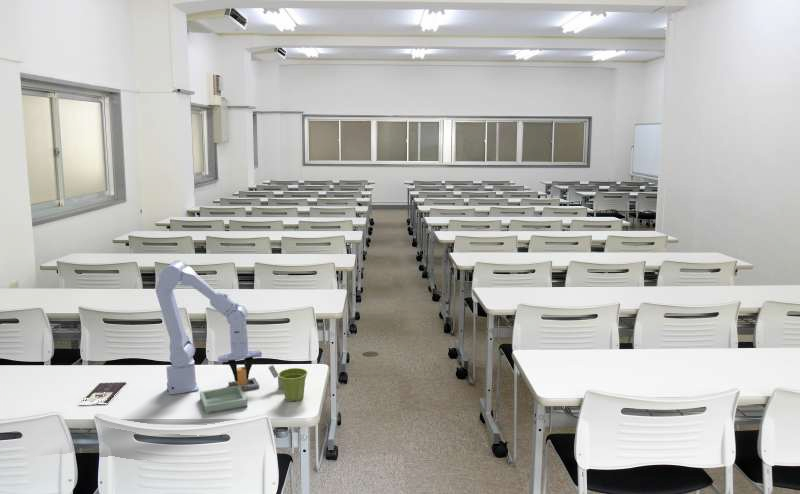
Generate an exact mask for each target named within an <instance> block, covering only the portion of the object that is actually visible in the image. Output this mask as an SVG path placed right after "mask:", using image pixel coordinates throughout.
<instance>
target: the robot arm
mask: <svg viewBox="0 0 800 494" xmlns="http://www.w3.org/2000/svg"><path fill="white" fill-rule="evenodd" d="M178 283H179V286H191V287H192V288H194V289H195V290H197V291H198V292H199V293H201V294H202V295H203V296H205V297H206V298H207V299H208V300H209V304H210V305H211V306H212V308H213V309H215V310H216V311H217V312H218V313H220V314H221V315H222V316H223V317H225V318H226V321H227V323H228V324H229V339H230V352H229V353H226V354H222V355H218V356H217V362H218V364H223V363H225V362H226V363H228V366H229V367H230V369H231V372H232V375H233V379H234V381H238V378H237V368H238V364H237V361H241V360H243V363H244V367H245V368H246V377H247V380H248V379H249V377H250V376H249V374H250V371H251V368H252V366H253V364H254V359H255V358H262V357H263V354H262V350H249V343H248V342H249V341H248V339H249V338H248V328H247V326H248V325H247V320H246V319H247V317H248V310H247V309H246V307H245V305H242V304H239V303H238V302H235V301H234V300H232V299H231V298H230V297H229V294H228V293H227V292H223V291H216V290H215V289H214V288H213V287H212V286H211V285H209V284H208V283H207V282H206V280H204V279H203V278H202V277H201V276H200V275H198V273H197V272H196V271H195V270H194V269H193V268H192V267H191V266H189V265H187V264H186V263H185V262H184V261H183V260H174V261H173V262H171V263H170V264H169V265H167V266H165V267H164V268H163V269H162V270H161V272H160V273H159V274H158V279H157V284H156V288H155V293H156V298H157V301H158V303H159V308H160V309H161V314H162V316H163V317H162V318H163V320H164V324H165V327H166V329H167V333H168V337H169V339H170V342H169V351H170V355H169V361H170V363H171V364H170V365H167V366H166V368H165V369H166V378H167V379H166V381H167V382H166V386H167V387H166V388H167V389H168V394H169V395H176V394H183V393H184V394H186V393H190V392H196V391H199V390H200V389H199V386H198V383H197V377H196V366H195V365H196V364H195V360H194V357H193V356H195V353H196V346H195V344H193V343H192V341H191V340H190V337H189V335H187V334H186V331H185V328H184V324H183V322H182V321H183V320H182V317H181V315H180V314H181V313H180V310H179V308H178V304H177V300H176V297H175V294H174V290H175V288H176V287H177V285H178Z"/></svg>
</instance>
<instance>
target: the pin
mask: <svg viewBox="0 0 800 494" xmlns="http://www.w3.org/2000/svg"><path fill="white" fill-rule="evenodd" d="M237 378H238V381H236V382H237V385H240V386H246V385H248V384H247V377H246V368H245V366H239V367H238V366H237ZM237 385H236V386H237Z"/></svg>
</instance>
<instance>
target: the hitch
mask: <svg viewBox="0 0 800 494" xmlns="http://www.w3.org/2000/svg"><path fill="white" fill-rule="evenodd" d="M227 382H228V387H231V386H237V382H236V381H235V380H233V381H227ZM240 387H241V389H242V391H243V392H244V391H249V390H257V389H260V384H259V382H258V381H257V379H256V378H255V377H253V378H248V380H247V385H241V386H240Z"/></svg>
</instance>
